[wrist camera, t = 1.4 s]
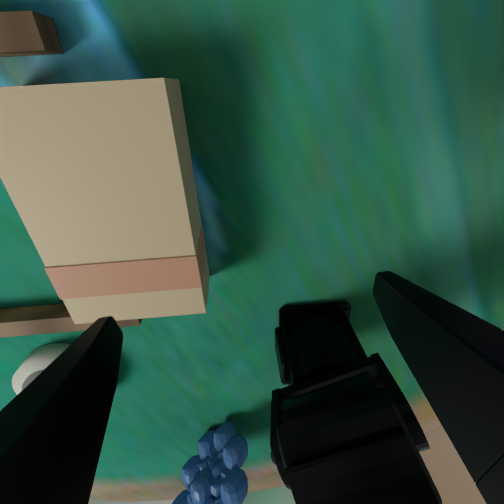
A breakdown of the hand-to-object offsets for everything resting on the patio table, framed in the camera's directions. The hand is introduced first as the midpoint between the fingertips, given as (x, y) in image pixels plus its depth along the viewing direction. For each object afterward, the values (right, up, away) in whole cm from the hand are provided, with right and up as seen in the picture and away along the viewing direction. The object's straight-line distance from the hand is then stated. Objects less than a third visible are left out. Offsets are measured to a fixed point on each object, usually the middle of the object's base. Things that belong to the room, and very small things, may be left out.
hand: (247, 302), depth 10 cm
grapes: (-4, -21, +26) cm, 34 cm away
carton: (-8, +5, +10) cm, 14 cm away
